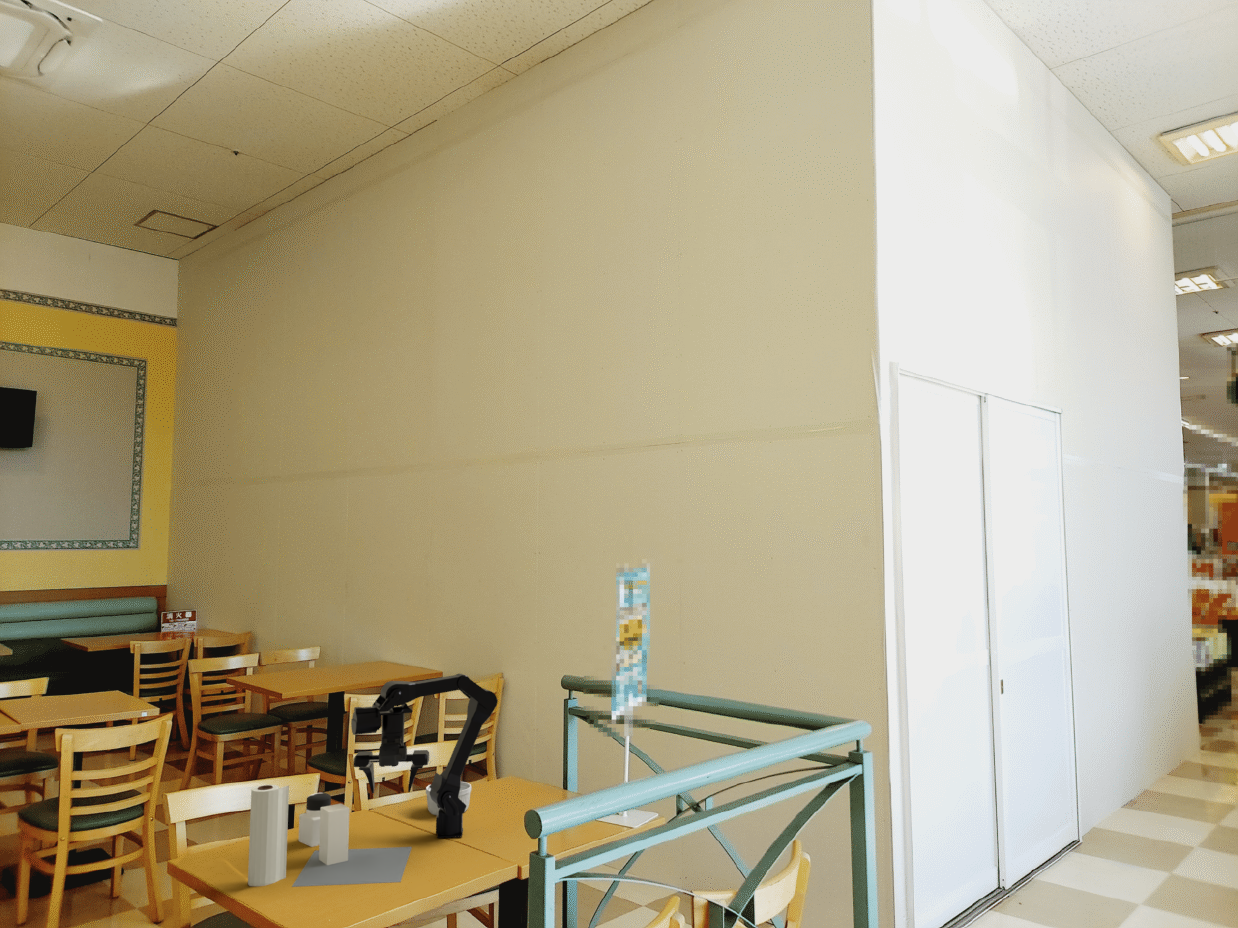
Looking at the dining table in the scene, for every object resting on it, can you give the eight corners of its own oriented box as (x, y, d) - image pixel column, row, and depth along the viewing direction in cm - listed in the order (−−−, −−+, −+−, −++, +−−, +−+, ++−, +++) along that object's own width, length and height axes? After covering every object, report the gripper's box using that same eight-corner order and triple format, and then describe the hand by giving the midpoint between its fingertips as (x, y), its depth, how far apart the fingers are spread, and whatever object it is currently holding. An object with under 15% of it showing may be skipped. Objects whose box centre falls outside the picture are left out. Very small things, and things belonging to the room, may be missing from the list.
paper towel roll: (242, 886, 201) (245, 789, 203) (257, 877, 207) (261, 782, 209) (271, 889, 200) (274, 791, 202) (285, 879, 206) (289, 784, 208)
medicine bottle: (337, 841, 232) (338, 794, 233) (311, 848, 227) (313, 799, 228) (323, 835, 237) (324, 789, 238) (297, 842, 232) (299, 794, 233)
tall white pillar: (339, 854, 221) (340, 803, 222) (347, 860, 217) (349, 807, 218) (318, 859, 218) (320, 807, 219) (327, 865, 214) (328, 811, 215)
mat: (411, 848, 227) (411, 846, 227) (400, 883, 203) (400, 881, 203) (314, 851, 224) (314, 850, 224) (291, 888, 200) (291, 886, 200)
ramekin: (426, 805, 265) (426, 781, 265) (470, 803, 267) (471, 779, 268) (424, 818, 252) (424, 793, 252) (471, 816, 254) (471, 791, 255)
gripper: (350, 738, 224) (348, 802, 222) (426, 736, 226) (424, 799, 224) (358, 729, 235) (356, 790, 233) (430, 727, 237) (428, 788, 235)
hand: (391, 792), depth 231 cm, fingers open, 9 cm apart
